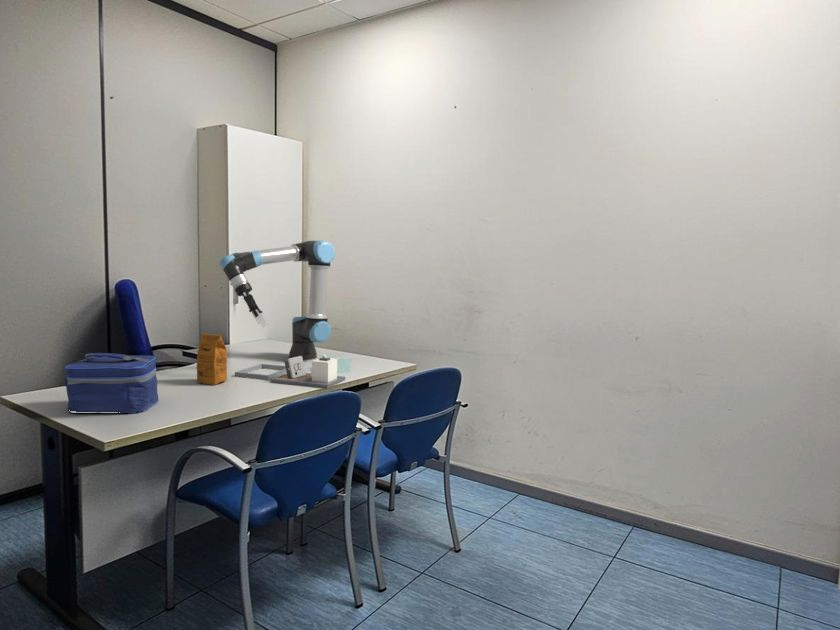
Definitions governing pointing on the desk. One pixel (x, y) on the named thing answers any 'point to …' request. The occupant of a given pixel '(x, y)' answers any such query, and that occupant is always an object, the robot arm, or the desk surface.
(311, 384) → the power dock
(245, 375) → the tray frame
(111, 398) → the lunch bag
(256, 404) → the desk surface
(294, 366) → the electrical switch
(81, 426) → the desk surface
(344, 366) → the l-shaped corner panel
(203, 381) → the coffee package
